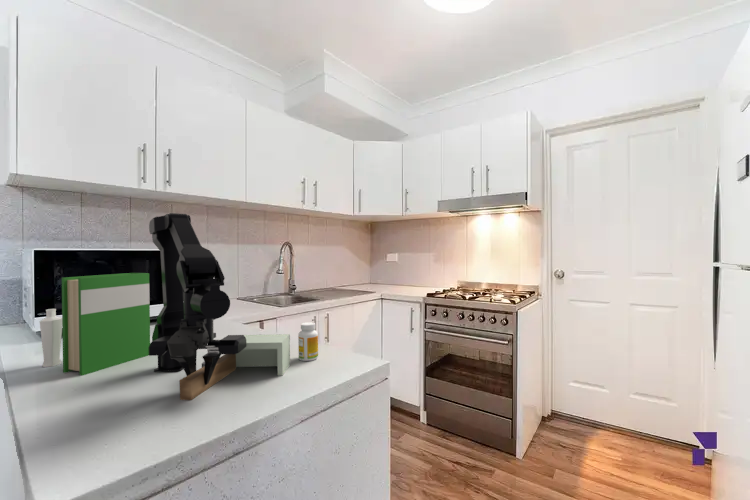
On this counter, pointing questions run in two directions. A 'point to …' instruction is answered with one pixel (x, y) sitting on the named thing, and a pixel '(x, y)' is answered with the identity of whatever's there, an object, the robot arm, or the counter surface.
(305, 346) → the supplement bottle
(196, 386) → the walnut bar
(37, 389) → the counter surface
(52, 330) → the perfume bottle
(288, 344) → the sage shelf
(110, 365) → the hardback book
